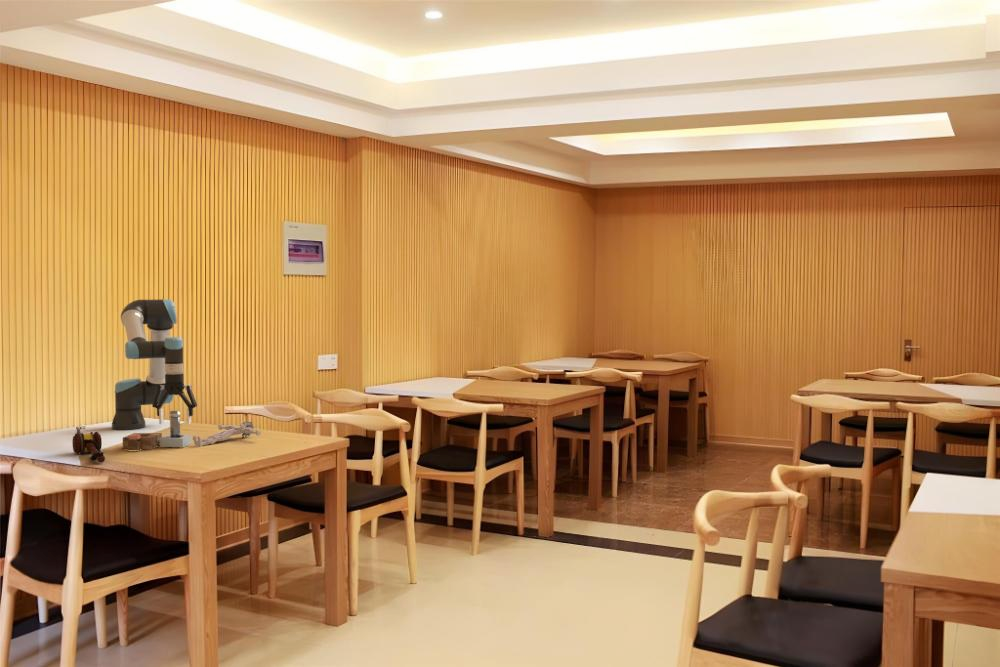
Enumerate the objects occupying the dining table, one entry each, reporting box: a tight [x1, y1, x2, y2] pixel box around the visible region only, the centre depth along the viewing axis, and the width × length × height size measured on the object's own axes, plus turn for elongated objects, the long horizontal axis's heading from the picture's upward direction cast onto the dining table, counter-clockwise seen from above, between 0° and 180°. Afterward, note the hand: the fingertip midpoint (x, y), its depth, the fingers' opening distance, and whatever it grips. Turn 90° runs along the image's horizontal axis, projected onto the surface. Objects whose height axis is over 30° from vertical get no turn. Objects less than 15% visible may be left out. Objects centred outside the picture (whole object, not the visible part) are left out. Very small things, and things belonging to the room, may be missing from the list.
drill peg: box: [169, 410, 181, 438], centre depth 385 cm, size 4×4×15 cm
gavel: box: [71, 426, 106, 463], centre depth 360 cm, size 10×34×10 cm
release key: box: [129, 433, 141, 442], centre depth 374 cm, size 4×4×6 cm
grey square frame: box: [159, 434, 192, 449], centre depth 385 cm, size 10×10×4 cm
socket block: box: [122, 432, 163, 451], centre depth 380 cm, size 16×12×5 cm
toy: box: [192, 420, 262, 448], centre depth 397 cm, size 28×8×30 cm
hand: (175, 423), depth 385 cm, fingers open, 11 cm apart
